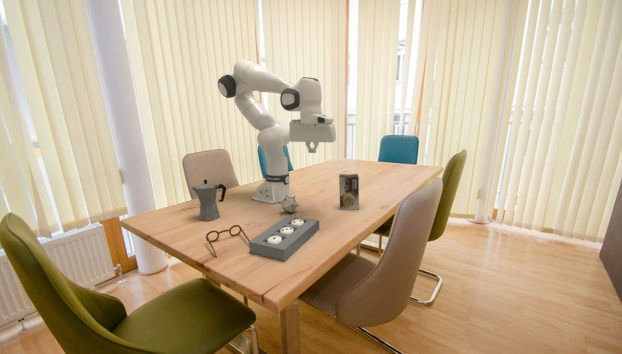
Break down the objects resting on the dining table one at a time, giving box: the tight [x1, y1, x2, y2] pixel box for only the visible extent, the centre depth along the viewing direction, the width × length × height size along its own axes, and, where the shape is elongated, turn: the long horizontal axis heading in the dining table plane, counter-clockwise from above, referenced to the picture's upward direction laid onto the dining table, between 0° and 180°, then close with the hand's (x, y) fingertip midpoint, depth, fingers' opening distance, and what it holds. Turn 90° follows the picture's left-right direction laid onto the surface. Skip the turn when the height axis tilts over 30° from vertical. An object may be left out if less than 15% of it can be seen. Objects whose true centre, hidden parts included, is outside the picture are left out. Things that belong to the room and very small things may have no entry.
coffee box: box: [338, 173, 360, 211], centre depth 129 cm, size 9×6×16 cm
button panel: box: [248, 214, 320, 262], centre depth 99 cm, size 14×26×4 cm, turn 154°
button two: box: [291, 219, 304, 226], centre depth 106 cm, size 5×5×4 cm
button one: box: [267, 236, 282, 245], centre depth 92 cm, size 5×5×4 cm
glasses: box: [205, 224, 251, 259], centre depth 97 cm, size 13×13×5 cm
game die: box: [278, 195, 300, 215], centre depth 126 cm, size 9×8×10 cm
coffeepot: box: [191, 179, 227, 222], centre depth 122 cm, size 15×9×18 cm, turn 92°
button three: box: [280, 227, 293, 235], centre depth 99 cm, size 5×5×4 cm
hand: (312, 152), depth 113 cm, fingers closed
